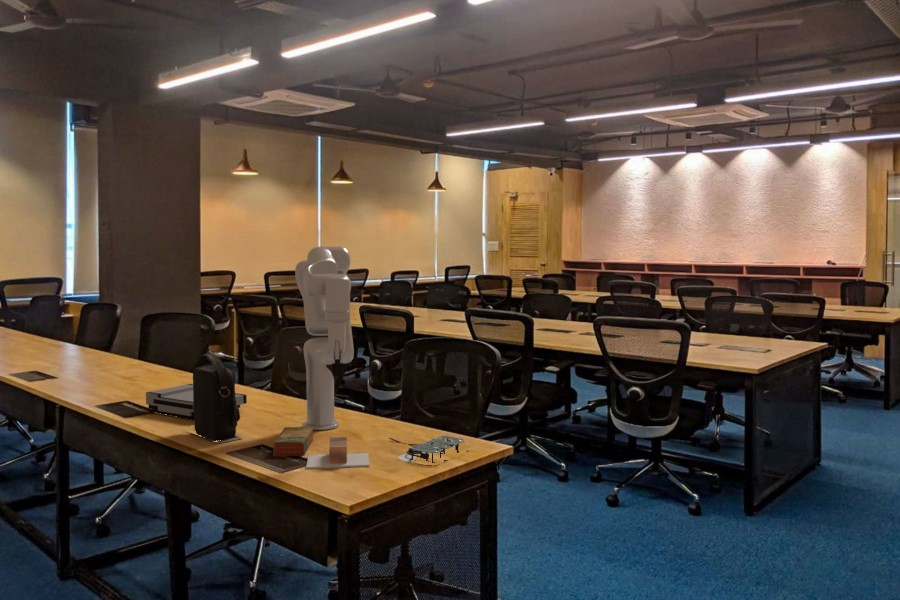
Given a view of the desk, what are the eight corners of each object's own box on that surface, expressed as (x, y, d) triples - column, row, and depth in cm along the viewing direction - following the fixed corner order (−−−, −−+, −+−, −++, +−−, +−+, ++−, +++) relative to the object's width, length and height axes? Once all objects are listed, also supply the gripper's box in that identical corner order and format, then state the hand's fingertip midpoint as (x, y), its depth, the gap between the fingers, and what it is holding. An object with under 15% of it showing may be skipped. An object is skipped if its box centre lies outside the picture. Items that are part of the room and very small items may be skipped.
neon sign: (400, 425, 241) (473, 439, 224) (400, 438, 241) (473, 452, 224) (357, 439, 224) (433, 454, 207) (357, 452, 224) (433, 469, 207)
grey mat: (308, 456, 217) (308, 455, 217) (368, 454, 220) (368, 453, 220) (306, 468, 206) (306, 467, 206) (369, 466, 208) (369, 464, 208)
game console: (204, 423, 261) (203, 401, 260) (146, 413, 277) (145, 392, 276) (246, 412, 278) (246, 391, 278) (190, 403, 294) (189, 383, 294)
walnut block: (330, 437, 219) (329, 446, 208) (346, 436, 220) (346, 446, 209) (330, 453, 220) (329, 463, 209) (346, 452, 220) (346, 463, 209)
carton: (313, 441, 237) (313, 426, 237) (304, 457, 219) (304, 441, 218) (284, 441, 237) (284, 426, 236) (272, 457, 218) (272, 441, 218)
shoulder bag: (185, 432, 247) (183, 351, 245) (210, 427, 254) (208, 348, 252) (217, 444, 232) (215, 358, 230) (243, 439, 238) (241, 355, 236)
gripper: (326, 313, 227) (326, 370, 229) (324, 320, 212) (324, 381, 214) (350, 313, 228) (350, 370, 230) (349, 320, 213) (349, 380, 215)
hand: (337, 375), depth 222 cm, fingers closed
